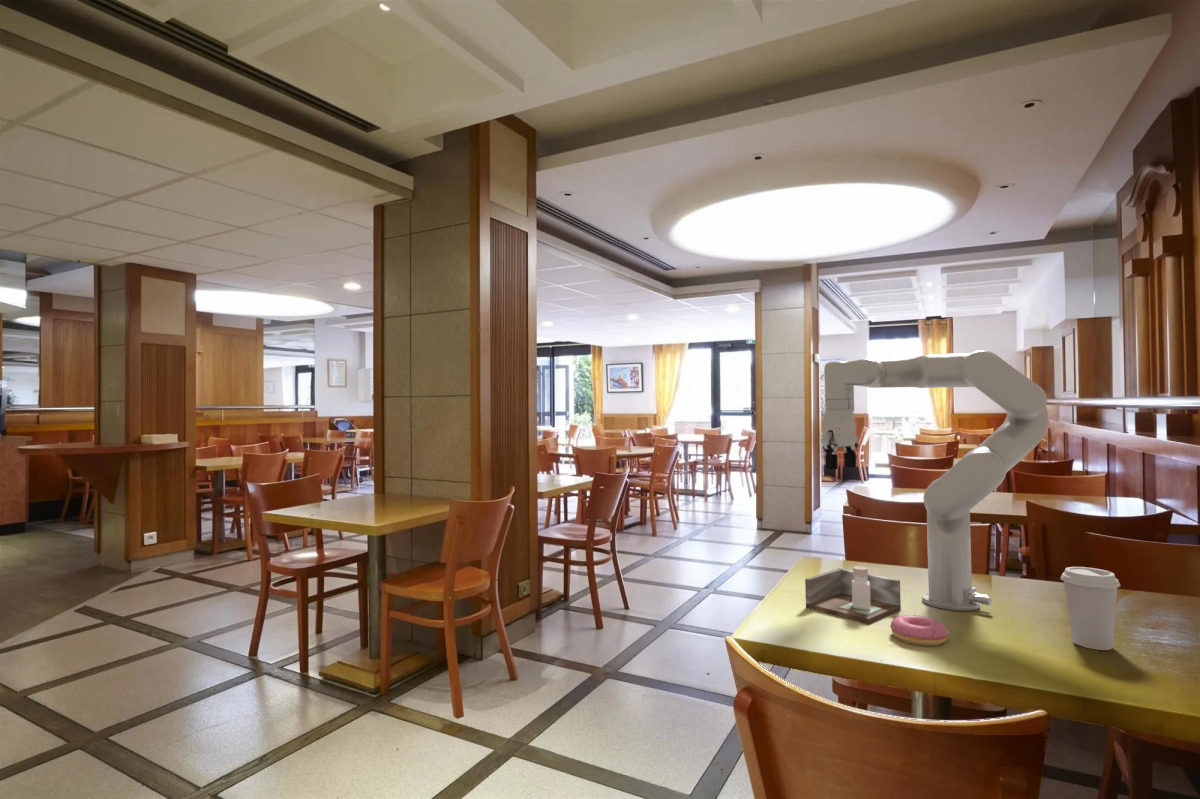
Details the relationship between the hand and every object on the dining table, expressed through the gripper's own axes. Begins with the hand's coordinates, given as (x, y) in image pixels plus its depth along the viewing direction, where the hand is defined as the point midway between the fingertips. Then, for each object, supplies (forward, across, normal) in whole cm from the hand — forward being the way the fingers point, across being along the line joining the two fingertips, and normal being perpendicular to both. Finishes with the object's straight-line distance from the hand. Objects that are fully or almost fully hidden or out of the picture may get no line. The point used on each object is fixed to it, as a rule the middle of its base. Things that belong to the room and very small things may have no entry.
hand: (841, 468), depth 167 cm
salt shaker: (+32, +16, +13) cm, 38 cm away
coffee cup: (+34, 0, +54) cm, 64 cm away
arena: (+33, +14, +10) cm, 37 cm away
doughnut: (+34, +22, +29) cm, 50 cm away
